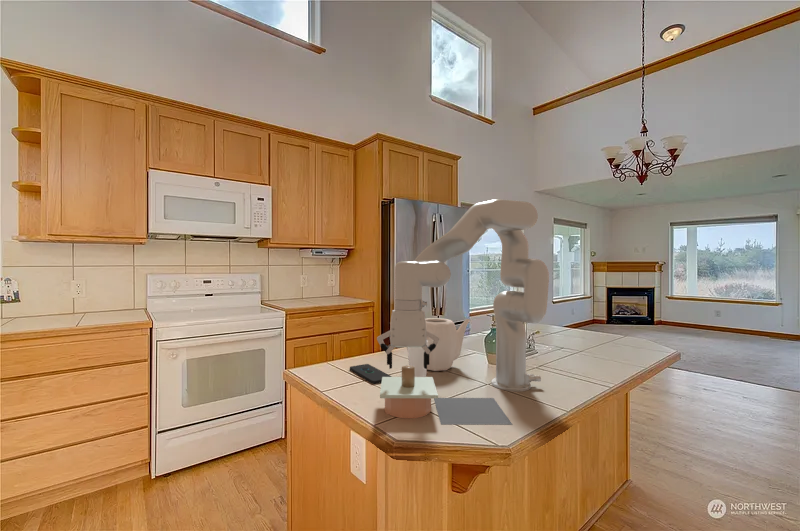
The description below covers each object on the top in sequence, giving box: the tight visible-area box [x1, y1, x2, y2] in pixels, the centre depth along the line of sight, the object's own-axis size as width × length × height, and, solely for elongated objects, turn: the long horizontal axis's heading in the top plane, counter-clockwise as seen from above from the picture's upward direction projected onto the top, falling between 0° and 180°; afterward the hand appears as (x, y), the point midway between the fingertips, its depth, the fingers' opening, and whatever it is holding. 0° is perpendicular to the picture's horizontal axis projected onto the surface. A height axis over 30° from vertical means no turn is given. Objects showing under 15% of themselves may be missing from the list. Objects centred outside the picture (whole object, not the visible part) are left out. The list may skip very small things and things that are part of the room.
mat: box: [433, 397, 513, 426], centre depth 99 cm, size 18×18×1 cm
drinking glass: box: [407, 340, 428, 377], centre depth 120 cm, size 7×7×15 cm
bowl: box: [384, 398, 432, 419], centre depth 100 cm, size 13×13×6 cm
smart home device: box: [349, 363, 393, 385], centre depth 131 cm, size 8×2×20 cm
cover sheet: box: [379, 365, 439, 399], centre depth 99 cm, size 15×15×6 cm
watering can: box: [406, 317, 471, 372], centre depth 141 cm, size 16×27×19 cm, turn 105°
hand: (408, 367), depth 100 cm, fingers open, 9 cm apart
